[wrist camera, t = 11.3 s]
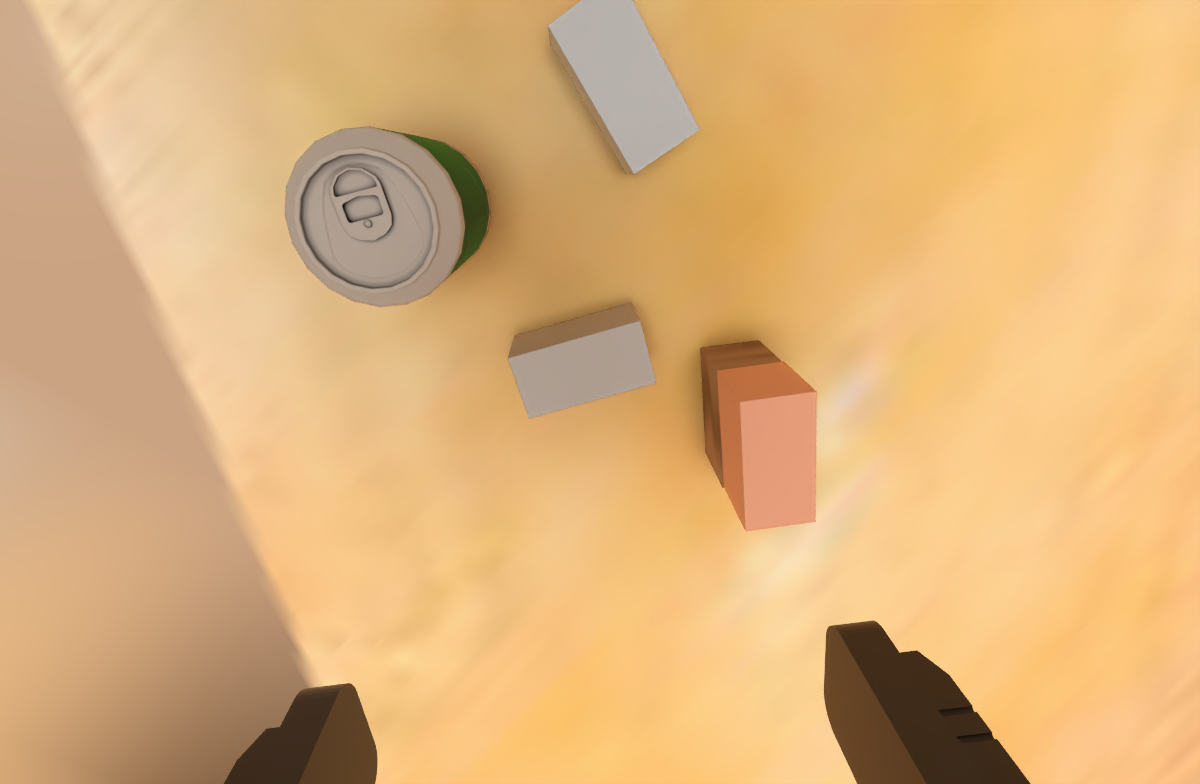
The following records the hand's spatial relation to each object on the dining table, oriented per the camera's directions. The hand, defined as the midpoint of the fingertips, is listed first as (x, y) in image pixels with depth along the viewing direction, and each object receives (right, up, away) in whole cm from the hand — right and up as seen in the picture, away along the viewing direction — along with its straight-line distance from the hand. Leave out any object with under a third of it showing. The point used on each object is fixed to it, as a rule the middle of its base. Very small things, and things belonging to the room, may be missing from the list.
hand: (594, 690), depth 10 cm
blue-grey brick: (+1, +23, +24) cm, 33 cm away
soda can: (-10, +16, +26) cm, 32 cm away
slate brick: (-1, +8, +29) cm, 30 cm away
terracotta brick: (+10, +3, +26) cm, 28 cm away
